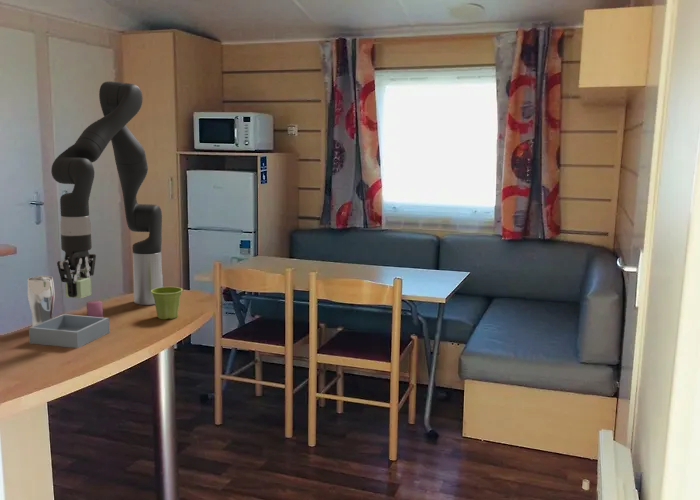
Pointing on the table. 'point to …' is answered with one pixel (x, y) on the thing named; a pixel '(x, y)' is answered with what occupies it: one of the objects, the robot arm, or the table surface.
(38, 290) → the beer glass
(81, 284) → the sage block
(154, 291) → the plant pot
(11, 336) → the table surface
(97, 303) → the plum cylinder
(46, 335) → the tub
